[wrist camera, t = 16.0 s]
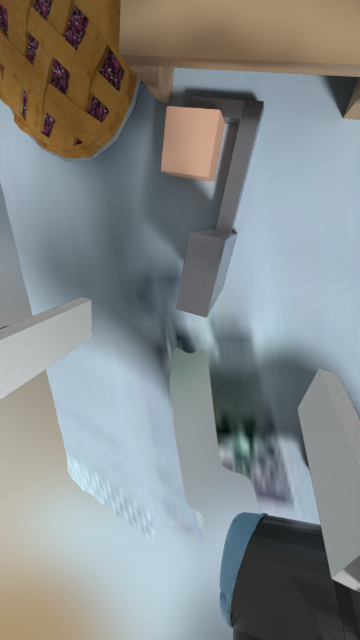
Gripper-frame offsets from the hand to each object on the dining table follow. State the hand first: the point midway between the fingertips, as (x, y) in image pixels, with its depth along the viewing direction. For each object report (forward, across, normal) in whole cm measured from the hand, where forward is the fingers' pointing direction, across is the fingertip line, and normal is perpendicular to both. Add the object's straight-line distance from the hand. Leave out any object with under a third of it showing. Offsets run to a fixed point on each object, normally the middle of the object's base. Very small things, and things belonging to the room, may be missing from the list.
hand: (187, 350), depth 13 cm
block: (+23, +8, -14) cm, 28 cm away
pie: (+23, +26, -22) cm, 41 cm away
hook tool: (+23, +5, -8) cm, 25 cm away
